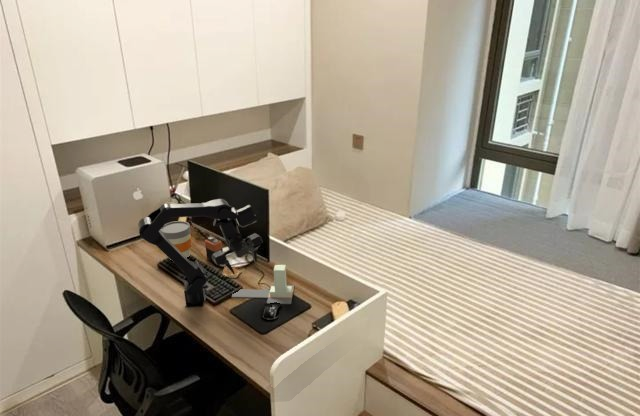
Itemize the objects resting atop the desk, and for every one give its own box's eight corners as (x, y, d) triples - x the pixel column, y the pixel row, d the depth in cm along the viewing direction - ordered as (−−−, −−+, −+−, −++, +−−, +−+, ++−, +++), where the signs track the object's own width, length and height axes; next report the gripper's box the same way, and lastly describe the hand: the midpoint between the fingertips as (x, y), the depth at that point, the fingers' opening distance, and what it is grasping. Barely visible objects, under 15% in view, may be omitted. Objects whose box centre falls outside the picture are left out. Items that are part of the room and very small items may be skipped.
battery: (214, 254, 200) (212, 234, 196) (224, 259, 196) (221, 239, 192) (206, 258, 197) (204, 238, 193) (216, 263, 193) (213, 243, 189)
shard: (226, 265, 193) (225, 261, 192) (244, 265, 193) (243, 261, 192) (221, 279, 183) (221, 275, 182) (240, 278, 183) (239, 275, 182)
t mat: (229, 302, 166) (229, 301, 166) (236, 285, 177) (236, 284, 177) (291, 304, 165) (290, 303, 165) (294, 286, 176) (294, 285, 176)
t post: (269, 296, 169) (268, 270, 165) (271, 290, 173) (269, 264, 168) (290, 296, 169) (289, 270, 164) (292, 290, 173) (290, 264, 168)
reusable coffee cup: (158, 259, 197) (153, 228, 191) (181, 248, 206) (177, 218, 200) (177, 267, 190) (172, 236, 184) (200, 255, 200) (196, 225, 194)
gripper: (213, 249, 152) (229, 287, 158) (261, 226, 159) (275, 263, 165) (204, 241, 161) (219, 276, 167) (250, 219, 168) (263, 254, 174)
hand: (245, 267), depth 168 cm, fingers open, 9 cm apart
